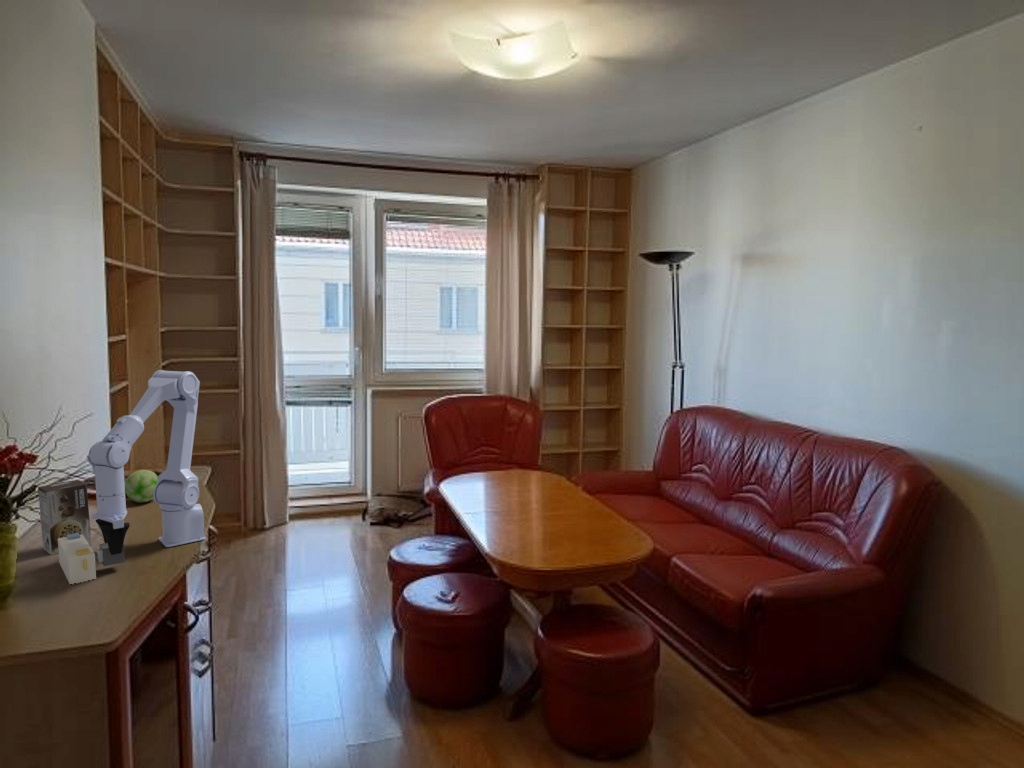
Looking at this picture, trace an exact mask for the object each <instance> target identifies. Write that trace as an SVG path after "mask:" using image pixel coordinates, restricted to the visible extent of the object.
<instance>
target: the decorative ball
mask: <svg viewBox="0 0 1024 768" xmlns="http://www.w3.org/2000/svg"><path fill="white" fill-rule="evenodd" d="M158 476H159V475H157V474H156V473H155V472H154V471H151V470H148V469H139V470H136V471H135V470H134V471H133V472H132V473H130V475H128V476H127V478H126V479H125V480H124V483H125V495H126V496H127V497H128V499H130V500H131V501H134V502H135V503H139V504H140V503H147V502H150V501H152V500H154V497H153V491H154V488H155V486H156V484H157V481H158Z"/></svg>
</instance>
